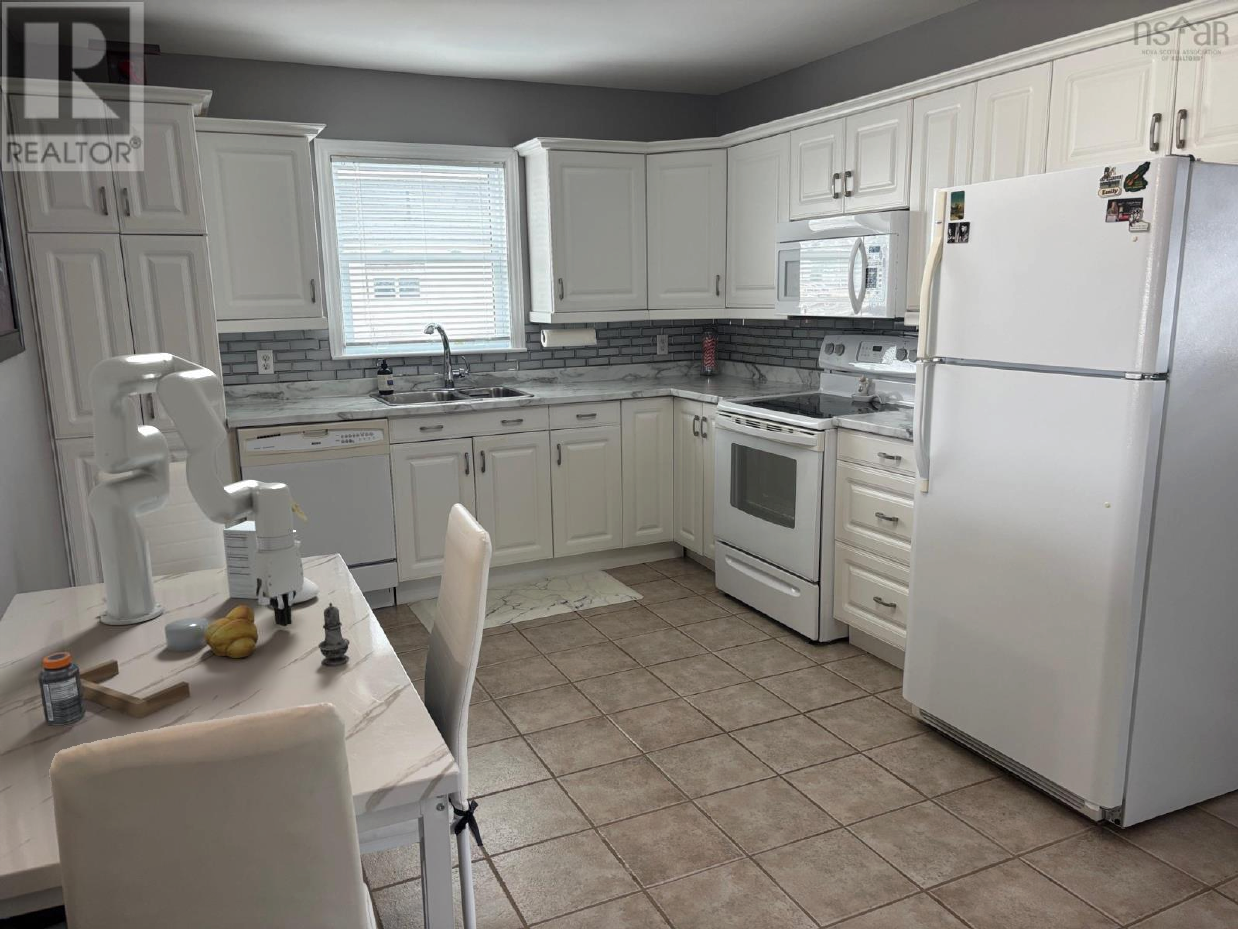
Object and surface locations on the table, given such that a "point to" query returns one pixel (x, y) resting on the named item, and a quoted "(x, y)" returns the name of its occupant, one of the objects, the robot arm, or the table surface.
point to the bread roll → (233, 633)
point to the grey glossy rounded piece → (186, 634)
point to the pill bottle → (61, 690)
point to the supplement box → (240, 558)
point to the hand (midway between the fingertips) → (283, 623)
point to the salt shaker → (333, 639)
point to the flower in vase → (308, 586)
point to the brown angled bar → (124, 700)
